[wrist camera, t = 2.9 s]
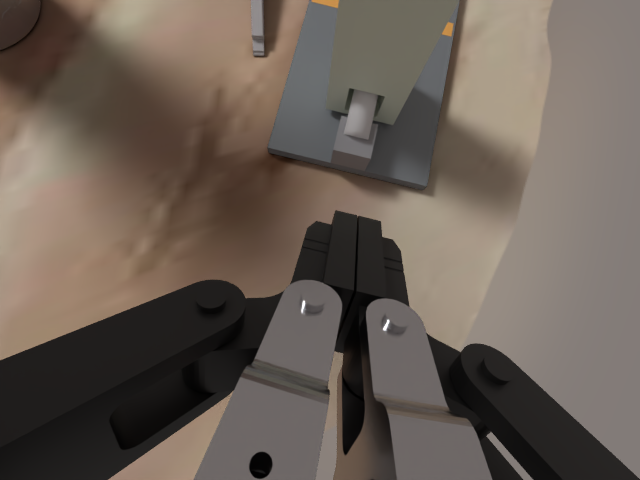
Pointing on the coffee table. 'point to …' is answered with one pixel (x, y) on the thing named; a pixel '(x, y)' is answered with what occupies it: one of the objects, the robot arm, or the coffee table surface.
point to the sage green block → (383, 50)
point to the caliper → (257, 26)
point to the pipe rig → (357, 111)
